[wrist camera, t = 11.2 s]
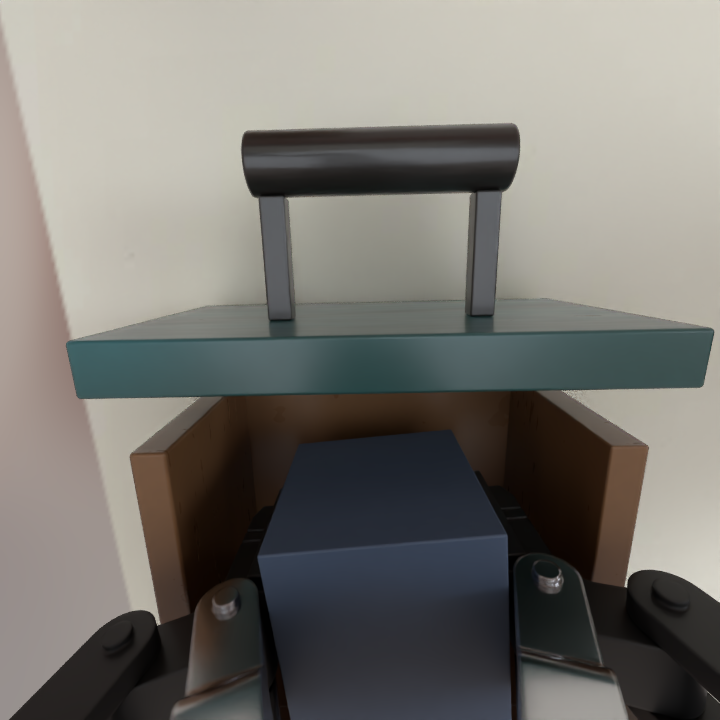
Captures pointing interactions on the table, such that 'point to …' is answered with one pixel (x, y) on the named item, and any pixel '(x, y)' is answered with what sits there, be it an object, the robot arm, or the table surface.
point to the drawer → (384, 371)
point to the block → (388, 583)
